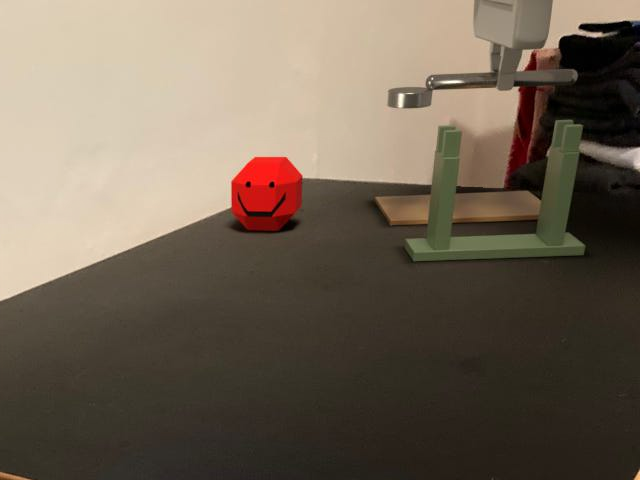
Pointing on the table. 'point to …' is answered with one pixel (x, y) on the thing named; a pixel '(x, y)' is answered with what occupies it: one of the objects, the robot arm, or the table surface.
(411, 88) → the ladle
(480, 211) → the brown wooden board
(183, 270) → the table surface
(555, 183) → the rack
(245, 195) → the ball
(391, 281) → the table surface
